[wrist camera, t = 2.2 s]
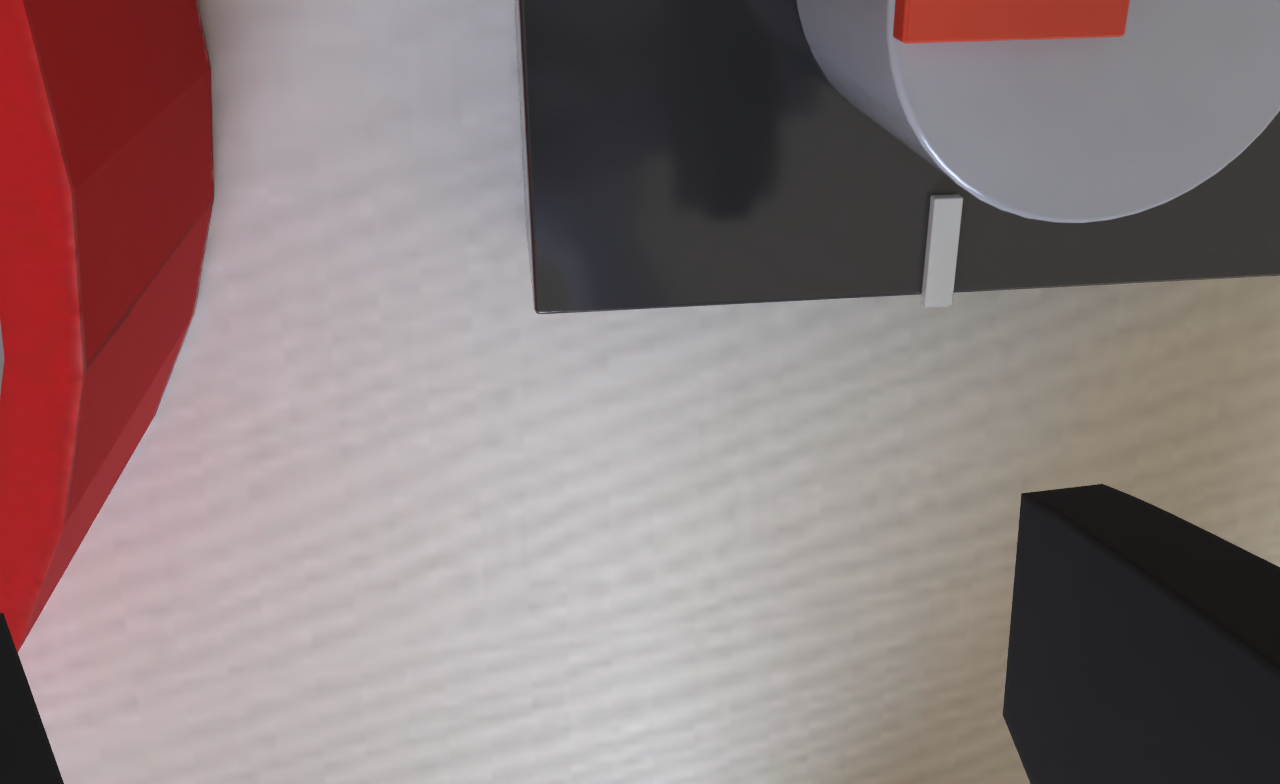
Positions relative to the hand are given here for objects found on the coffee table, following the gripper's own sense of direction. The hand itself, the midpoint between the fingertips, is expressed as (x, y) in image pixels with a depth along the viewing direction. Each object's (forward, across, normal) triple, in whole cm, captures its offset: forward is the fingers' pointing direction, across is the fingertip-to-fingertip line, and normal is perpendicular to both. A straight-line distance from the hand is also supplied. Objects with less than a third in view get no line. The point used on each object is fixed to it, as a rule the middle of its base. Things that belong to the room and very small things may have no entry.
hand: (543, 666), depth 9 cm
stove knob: (+7, -5, -4) cm, 9 cm away
